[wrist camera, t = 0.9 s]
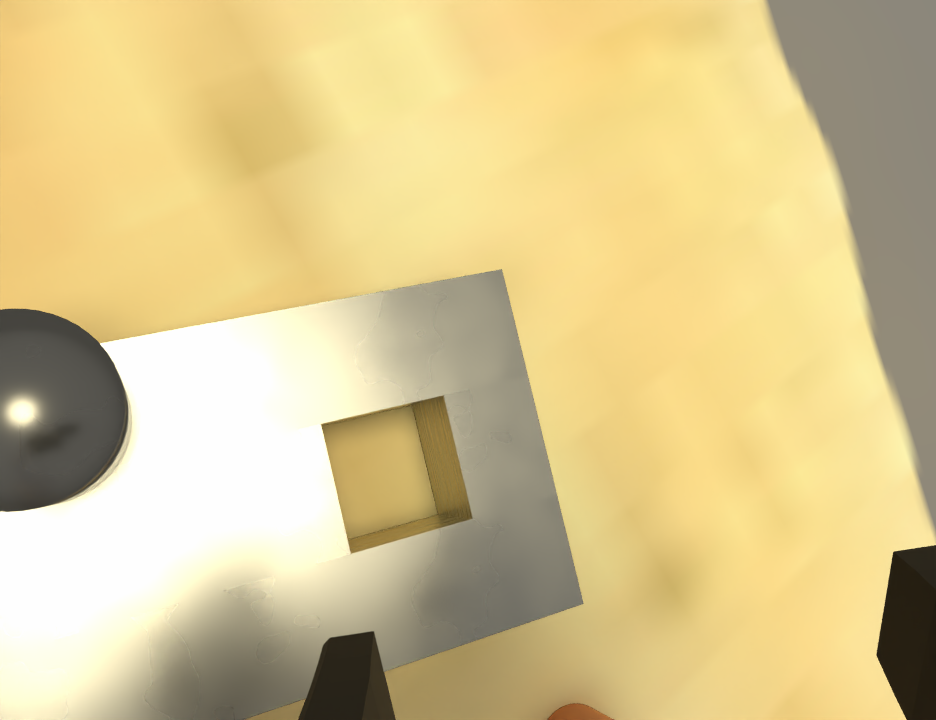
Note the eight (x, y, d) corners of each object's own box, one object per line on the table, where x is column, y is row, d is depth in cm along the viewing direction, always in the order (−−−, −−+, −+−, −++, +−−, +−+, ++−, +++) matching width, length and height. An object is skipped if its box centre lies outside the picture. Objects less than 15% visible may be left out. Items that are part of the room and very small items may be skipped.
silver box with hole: (537, 590, 26) (665, 627, 19) (12, 762, 21) (-56, 891, 14) (463, 282, 26) (563, 216, 20) (-68, 381, 21) (-169, 338, 15)
